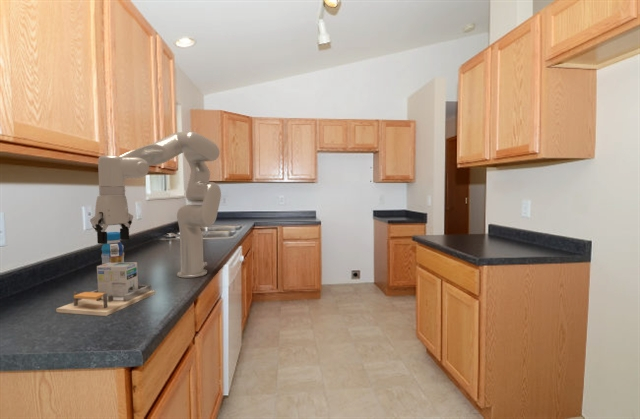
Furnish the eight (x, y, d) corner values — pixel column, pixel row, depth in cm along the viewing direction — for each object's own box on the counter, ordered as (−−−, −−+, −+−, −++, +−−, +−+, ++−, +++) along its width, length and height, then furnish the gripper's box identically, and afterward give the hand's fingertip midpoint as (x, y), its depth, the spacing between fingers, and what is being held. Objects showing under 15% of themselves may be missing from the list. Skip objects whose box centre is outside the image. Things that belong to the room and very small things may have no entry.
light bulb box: (139, 291, 119) (138, 261, 119) (128, 297, 113) (126, 266, 112) (109, 291, 120) (108, 261, 119) (97, 297, 113) (95, 266, 112)
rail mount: (112, 291, 125) (111, 276, 125) (154, 293, 122) (154, 278, 121) (56, 312, 103) (55, 294, 103) (106, 316, 100) (105, 297, 100)
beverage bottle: (97, 281, 139) (95, 234, 138) (109, 276, 147) (107, 231, 146) (118, 281, 139) (116, 234, 138) (129, 275, 148) (127, 231, 146)
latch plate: (85, 294, 108) (84, 291, 107) (106, 295, 106) (106, 293, 106) (73, 298, 104) (73, 295, 104) (95, 299, 102) (95, 297, 102)
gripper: (122, 192, 122) (123, 237, 123) (80, 192, 105) (82, 245, 106) (140, 192, 121) (141, 238, 122) (100, 191, 104) (102, 245, 105)
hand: (114, 241), depth 114 cm, fingers open, 9 cm apart
